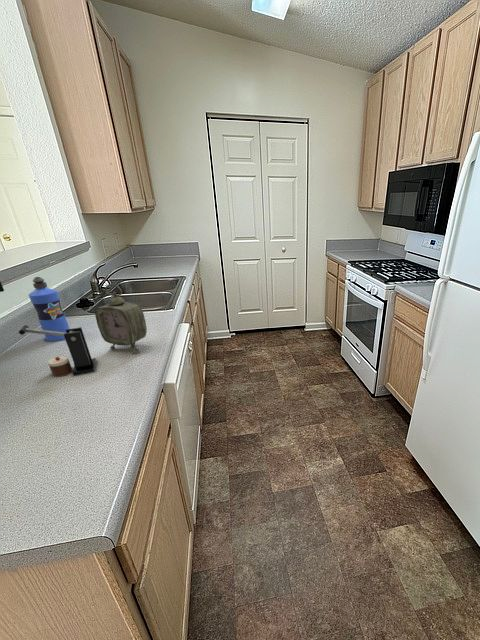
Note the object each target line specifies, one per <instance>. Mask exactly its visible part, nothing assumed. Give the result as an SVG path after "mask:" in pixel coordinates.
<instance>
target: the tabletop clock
mask: <svg viewBox="0 0 480 640" xmlns="http://www.w3.org/2000/svg"><path fill="white" fill-rule="evenodd" d="M109 287H115V288H117V289H119V291H120V292H119V293H118V294H117V292H116V291H113V292H112V293H110V292H109V291H108V288H109ZM105 292H106V294H107V295H110V296H112V297H110V299H109V301H108V303H107V304H105V305H101V306H99V307H96V308H95V309H94V314H95V315H94V316H95V321H96V324H97V328H98V330H99V333H100V336H101V337H102V339H103V341H104V342H106V343H107V344H112V345H110V347H109V349H110V350H111V351H114V350H115V349H116V345H117V346H131V347H132V348H133V352H134V354H137V353H139V349H138V348H137V345H136V343H137V342H138V341H140V340H142V339H144V338H146V336H147V332H148V328H147V322H146V319H145V315H144V314H145V313H144V311H143V308H142V306H141V305H139V304H136V303H134V302H129V301H125V299H124V298H123V297H121V295H122V294H123V289H122V288H121V287H120V286H119V285H117V284H112V283H109V284H107V285H106V286H105Z"/></svg>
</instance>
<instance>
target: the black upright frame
mask: <svg viewBox="0 0 480 640" xmlns="http://www.w3.org/2000/svg"><path fill="white" fill-rule="evenodd" d="M70 331H77V332H70ZM69 332H70V333H69ZM64 337H65V339H64V340H65V342H66V345H67V347H68V350H69V353H70V356H71V359H72V361H73V364H74V367H73V369H72V375H73V376H79V375H80V376H81V375H84V374H91V373H94V372H96V371H95V370H96V365H97V358H96V357H95V358H93V357H92V355H91V351H90V349H89V345H88V343H87V340H86V337H85V334H84V332H83V328H82V326H80V327H79V326H78V327H74V328H73V327H72V328H70V329H66V333H64Z"/></svg>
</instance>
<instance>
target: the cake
mask: <svg viewBox="0 0 480 640" xmlns="http://www.w3.org/2000/svg"><path fill="white" fill-rule="evenodd" d="M47 364H48V367H49V370H50V372H51V374H52V376H53V377H62V376H67V375H69V374H70V373H73V366H72V365H71V362H70V359H69V357H68V356H63V355H62V356H56V357H53V358H51V359H49V360H48V361H47Z"/></svg>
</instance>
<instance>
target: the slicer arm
mask: <svg viewBox="0 0 480 640" xmlns="http://www.w3.org/2000/svg"><path fill="white" fill-rule="evenodd" d="M70 332H77V331H70ZM70 332H69V333H70ZM26 333H31V334H39V335H44V334H47V335H55V336H64V333H63V332H55V331H47V330H42V329H37V328H30V327H29V325H27V324H24V325H22V326H21V328H20V329H19V330H18V334H19V335H21V336H24V335H25V334H26Z"/></svg>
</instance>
